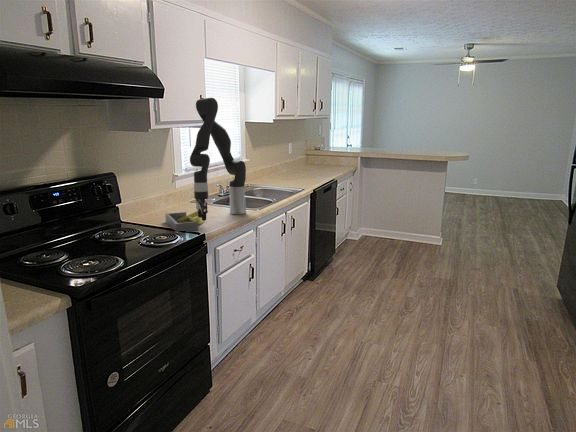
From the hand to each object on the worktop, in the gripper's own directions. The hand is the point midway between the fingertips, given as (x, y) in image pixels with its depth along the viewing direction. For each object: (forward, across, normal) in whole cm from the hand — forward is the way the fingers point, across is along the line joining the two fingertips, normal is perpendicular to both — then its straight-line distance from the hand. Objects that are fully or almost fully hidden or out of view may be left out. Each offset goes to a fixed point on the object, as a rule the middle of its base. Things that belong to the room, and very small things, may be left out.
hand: (202, 218), depth 230 cm
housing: (+3, 0, +11) cm, 11 cm away
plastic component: (+4, +3, +6) cm, 8 cm away
